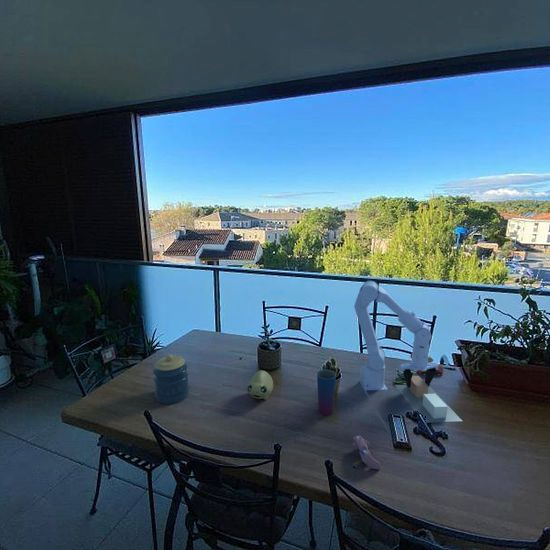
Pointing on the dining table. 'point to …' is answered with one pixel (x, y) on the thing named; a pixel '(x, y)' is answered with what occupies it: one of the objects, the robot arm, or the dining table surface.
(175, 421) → the dining table surface
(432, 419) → the baseplate
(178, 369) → the canister
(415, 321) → the robot arm
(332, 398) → the cup
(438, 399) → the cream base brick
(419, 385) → the tan rectangular block
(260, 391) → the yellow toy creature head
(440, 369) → the toy fire truck
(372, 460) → the pink curved figurine
